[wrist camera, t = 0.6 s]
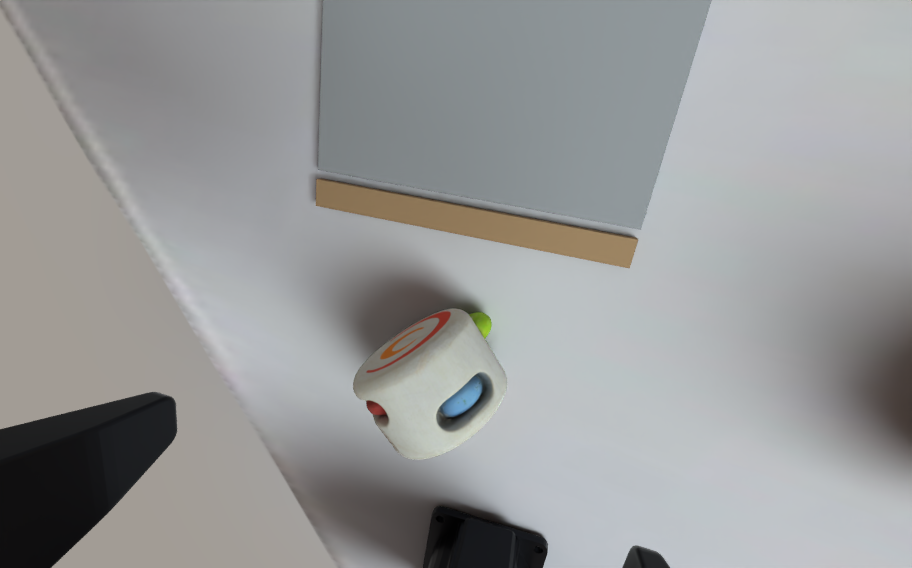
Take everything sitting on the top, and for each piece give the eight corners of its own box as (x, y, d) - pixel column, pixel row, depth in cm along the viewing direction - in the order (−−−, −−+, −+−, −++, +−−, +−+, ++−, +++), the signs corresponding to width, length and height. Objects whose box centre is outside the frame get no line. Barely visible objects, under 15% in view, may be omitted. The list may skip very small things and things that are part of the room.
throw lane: (628, 265, 17) (629, 268, 17) (320, 204, 20) (315, 205, 19) (727, -58, 14) (732, -64, 13) (329, -89, 16) (324, -95, 15)
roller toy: (526, 364, 20) (515, 445, 15) (421, 409, 22) (378, 494, 17) (478, 286, 19) (449, 342, 14) (374, 341, 22) (314, 408, 16)
